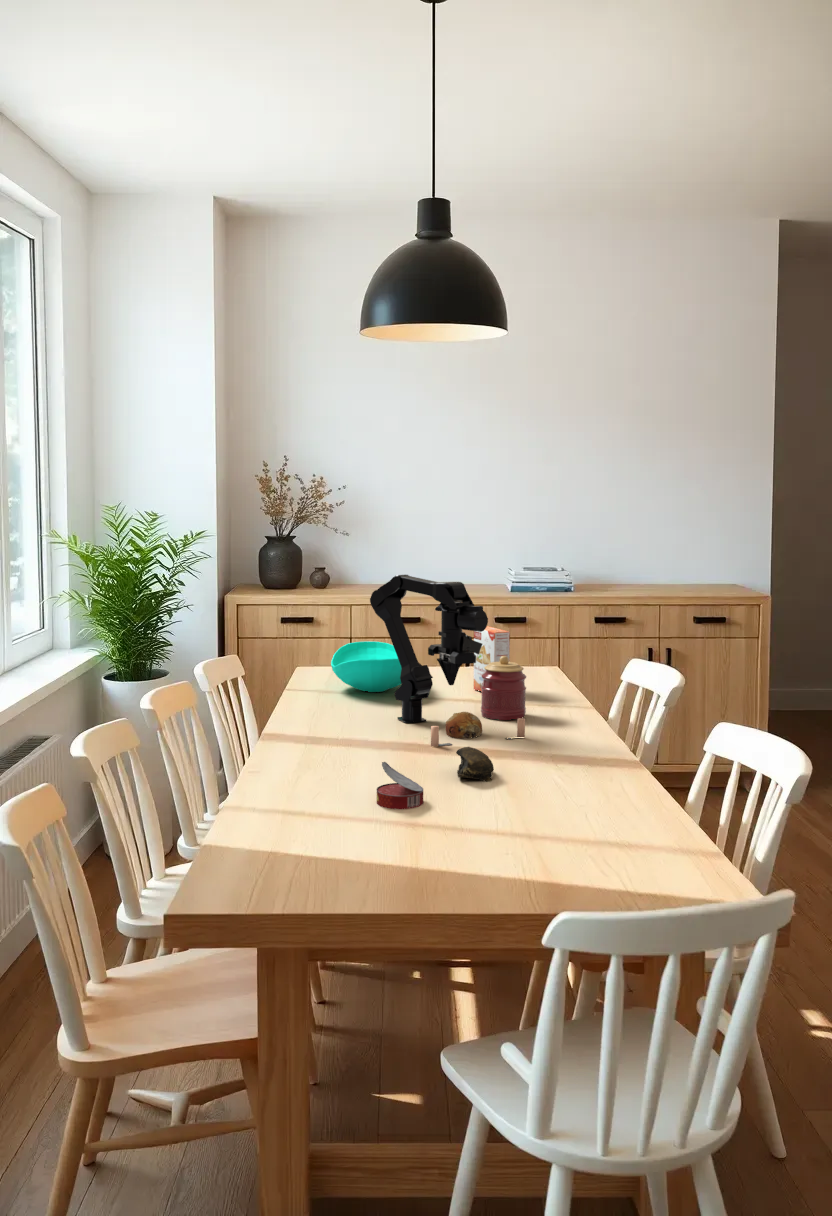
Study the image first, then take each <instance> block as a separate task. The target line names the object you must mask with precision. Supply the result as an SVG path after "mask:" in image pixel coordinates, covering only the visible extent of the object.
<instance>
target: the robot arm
mask: <svg viewBox="0 0 832 1216" xmlns="http://www.w3.org/2000/svg"><path fill="white" fill-rule="evenodd" d="M466 589H467V588H466V587H465V584H464V583H463V582H461V581H441V582H439V581H434V580H429V579H426V578H420V577H416V576H412V575H411V576H410V575H409V574H396V575H395V576H393V577H392V578H391V579H390V580H388V581H387V582H385V583H384V584H383V585H381V586H380V587H378V588H377V589H375V590H373V592H372V593H371V595H370V598H369V603H370V605H371V608H372V609H373V611H374V613H375V615H377V616H378V618H380V619H381V620H382V621H383V623H384V625H385V627H386V629H387V634H388V635H389V638H390V640H391V645H393V646H394V649H395V652H396V654H397V657H398V660H399V662H400V665H401V668H402V669H401V675H400V680H401V684H400V685H399V686H398V688H397V689H396V691H394V697H395V701H400V702H401V716H397V720H398V721H401V722H402V721H403V723H404V724H411V723H423V722H424V723H425V722H427V719H426V718H424V717H423V699H428V698H429V694H430V692H431V690H432V687H433V680H432V679H433V678H434V677H433V675H432V674H431V672H430V668H429V666H428V665H427V664H424V665H422V664H421V663H420V662H419V660H418V658H417V655H416V652H415V651H414V648H413V645H412V642H411V640H410V637H409V635H408V632H407V630H406V627H405V625H404V622H403V619H402V616H401V614H402V608H403V607H402V606H403V605H402V601H401V600H402V599H403V598H405V596H406V595H407V592H411V593H416V594H420V595H425V596H429V597H431V598H433V599H434V600H435V601H437V602H439V604H438V605H437V606H436V607H435V608H434V611H436V612H441V619H440V620H441V621H440V623H441V628H440V629H441V630H440V631H438V636H441V637H440V638H441V639H440V644H439V643H437V644H430V645H429V646H428V647H427V655H428V656H430V657H431V656H435V655H439V657H438V658H436V661H437V662H438V664H439V667H440V668H441V670H442V672H443V674H444V677H445V679H446V682H447V683H448V686H454V685H455V682H456V678H457V676H458V672H459V669H460V667H461V666H462V665H464V664H465V665H467V664H474V663H476V655H475V654H474V653H476V654H479V653H480V650H481V647H482V643H479V642H476V641H474V639H473V637H472V636H470V635H467V634H466V632H464V631H471V632H474V631H479V632H482V631H484V630H485V629H486V627H487V626H488V622H489V618H488V616H487V615H488V614H487V613H486V612H485V610H484V606H483V605H475V604H474V602H473V600H472V599H471V596H470V595H469V593H468V591H467V590H466ZM463 630H464V631H463Z"/></svg>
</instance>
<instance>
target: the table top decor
mask: <svg viewBox="0 0 832 1216" xmlns="http://www.w3.org/2000/svg"><path fill="white" fill-rule="evenodd" d="M330 665H331V669H332V672H333V674H334V675H335V676H336V677H337V678H338V679H339V680H340V681H341V682H343V683H344V684H346V685H348V686H350V687H352V688H354V689H355V690H359V691H363V692H365V691H368V692H367V693H376V692H377V693H379V692H380V693H382V692H385V691H387V690H390V689H393V688H396V687H399V686H401V685H402V684H401V680H400V675H401V669H402V668H401V665H400V662H399V660H398V657H397V654H396V652H395V649H394V646H393V644H392V643H388V642H382V641H355V642H349V643H346V644H344V645H342V646H340V647H339V648H338V649H337V650H336V651H335V652H334V654H333V656H332V658H331V661H330Z"/></svg>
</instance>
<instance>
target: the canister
mask: <svg viewBox="0 0 832 1216" xmlns="http://www.w3.org/2000/svg"><path fill="white" fill-rule="evenodd" d="M499 661H500V662H492V663H489V665H487V666H485V667H484V669H485V670H486V671H485V673H483V674H482V675H481V677H482V678H483V685H482V686H481V689H482V692H481V707H480V712H481V716H482V717H483V718H485V717H486V718H485V719H488V718H490V719H489V720H494V719H499V720H498V721H512V720H511V719H516V720H517V719H518V718H522V717H523V718H525V717H524V716H526V711H527V710H526V709H527V708H526V692H527V686H526V685H525V680H526V679H527V675H526V674H525V673H524V672H523V671H524V669H525V668H524V666H521V665H520V664H519V663H517V662H514V661H510V659H508V657H507V656H501V657H500V660H499Z"/></svg>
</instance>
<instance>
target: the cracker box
mask: <svg viewBox="0 0 832 1216" xmlns="http://www.w3.org/2000/svg"><path fill="white" fill-rule="evenodd" d="M510 637H511V632H510V631H508V630H504V629H500V628H496V627H493V626H488V625H487V627H486V629H485V630H484V631H482V632H479V631H473V641H476V642H479V643H482V647H481V650H480V653H479V654H476V653H474V654H475V655H476V663H473V690H474V689H475V691H477V690H479V691H481V692H480V693H482V689H481V686H482V685H483V678H482V677H481V675H482V674H483V673H485V671H486V670H485V669H484V667H485V666H487V665H489V663H492V662H500V661H499V660H500V657H501V656H507V657H508V659H509V660H510V658H511V657H510V651H511V650H510V649H511V648H510V646H511V643H510V642H511V639H510ZM479 691H478V692H479Z"/></svg>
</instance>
